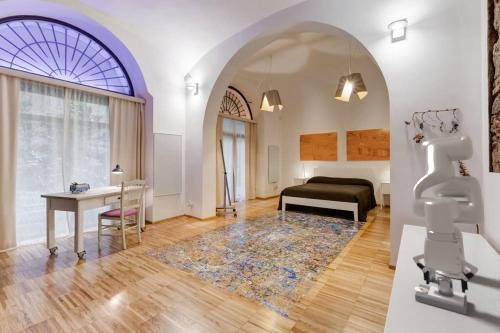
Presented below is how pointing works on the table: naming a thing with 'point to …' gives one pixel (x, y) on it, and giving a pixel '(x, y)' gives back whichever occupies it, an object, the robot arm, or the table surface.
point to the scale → (441, 299)
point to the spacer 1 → (432, 275)
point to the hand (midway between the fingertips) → (445, 286)
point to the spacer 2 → (445, 286)
